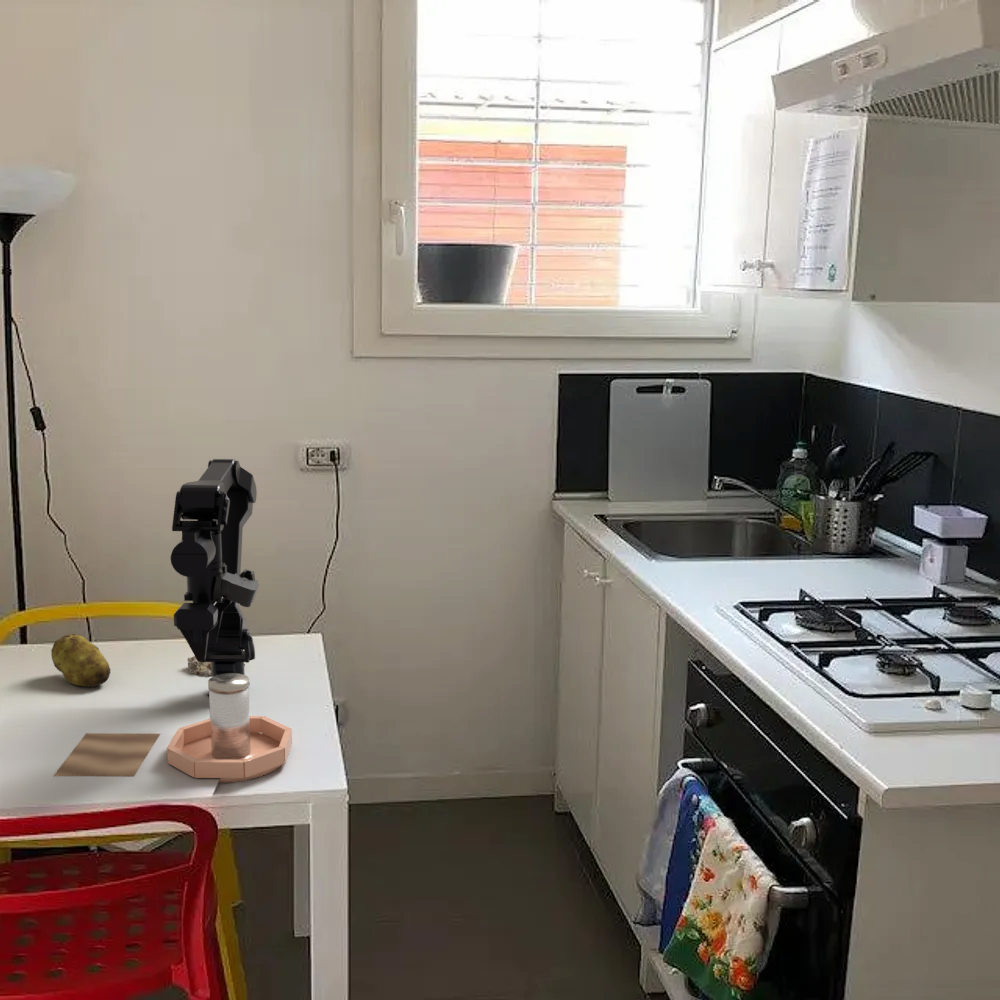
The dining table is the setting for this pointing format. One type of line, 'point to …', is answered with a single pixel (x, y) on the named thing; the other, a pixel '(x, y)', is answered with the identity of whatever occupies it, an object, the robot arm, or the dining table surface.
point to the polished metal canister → (229, 716)
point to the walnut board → (108, 754)
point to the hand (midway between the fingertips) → (207, 652)
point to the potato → (80, 661)
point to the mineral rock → (200, 667)
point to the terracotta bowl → (197, 761)
